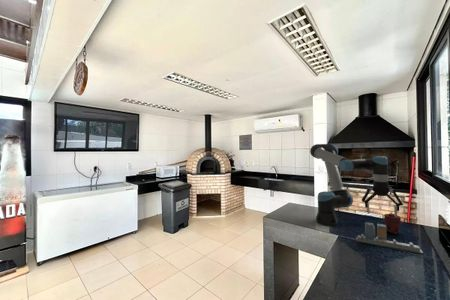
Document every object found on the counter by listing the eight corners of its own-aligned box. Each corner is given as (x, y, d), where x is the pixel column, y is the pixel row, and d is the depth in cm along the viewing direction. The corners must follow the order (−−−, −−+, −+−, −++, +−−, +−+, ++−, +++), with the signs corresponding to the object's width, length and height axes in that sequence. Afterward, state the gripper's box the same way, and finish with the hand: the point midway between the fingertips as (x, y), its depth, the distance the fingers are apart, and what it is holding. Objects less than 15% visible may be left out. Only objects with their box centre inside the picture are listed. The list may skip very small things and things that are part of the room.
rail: (356, 241, 119) (355, 223, 119) (355, 238, 124) (355, 220, 124) (423, 254, 104) (422, 232, 104) (420, 249, 108) (419, 229, 108)
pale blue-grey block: (377, 237, 124) (377, 223, 124) (385, 238, 122) (385, 224, 122) (378, 240, 120) (378, 226, 120) (386, 242, 118) (386, 227, 118)
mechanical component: (396, 229, 135) (406, 236, 125) (380, 228, 137) (388, 235, 127) (395, 212, 134) (406, 217, 125) (379, 211, 136) (388, 216, 127)
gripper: (357, 180, 124) (358, 213, 124) (409, 183, 111) (410, 219, 111) (356, 179, 131) (357, 210, 131) (405, 181, 118) (406, 215, 118)
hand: (381, 214), depth 121 cm, fingers open, 13 cm apart
